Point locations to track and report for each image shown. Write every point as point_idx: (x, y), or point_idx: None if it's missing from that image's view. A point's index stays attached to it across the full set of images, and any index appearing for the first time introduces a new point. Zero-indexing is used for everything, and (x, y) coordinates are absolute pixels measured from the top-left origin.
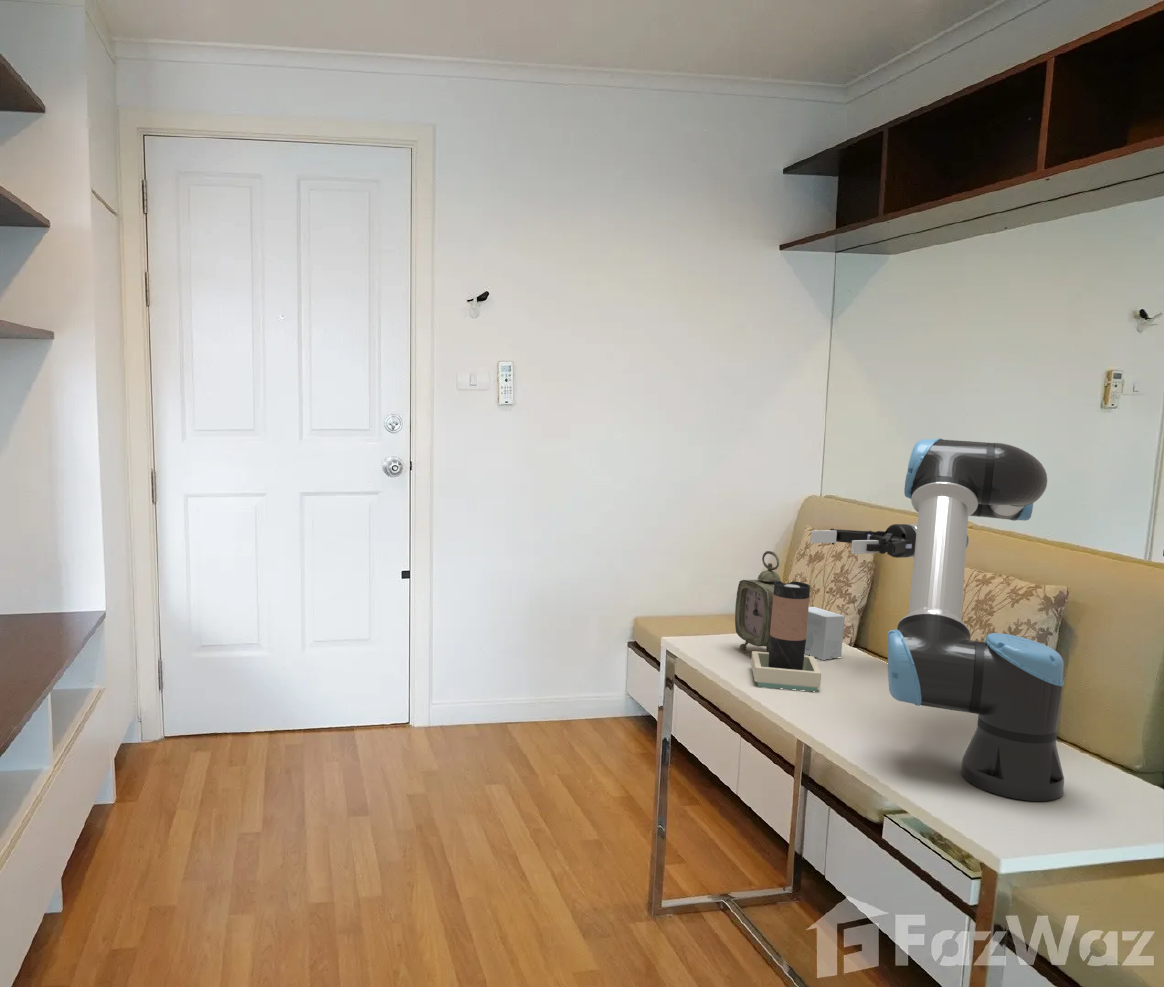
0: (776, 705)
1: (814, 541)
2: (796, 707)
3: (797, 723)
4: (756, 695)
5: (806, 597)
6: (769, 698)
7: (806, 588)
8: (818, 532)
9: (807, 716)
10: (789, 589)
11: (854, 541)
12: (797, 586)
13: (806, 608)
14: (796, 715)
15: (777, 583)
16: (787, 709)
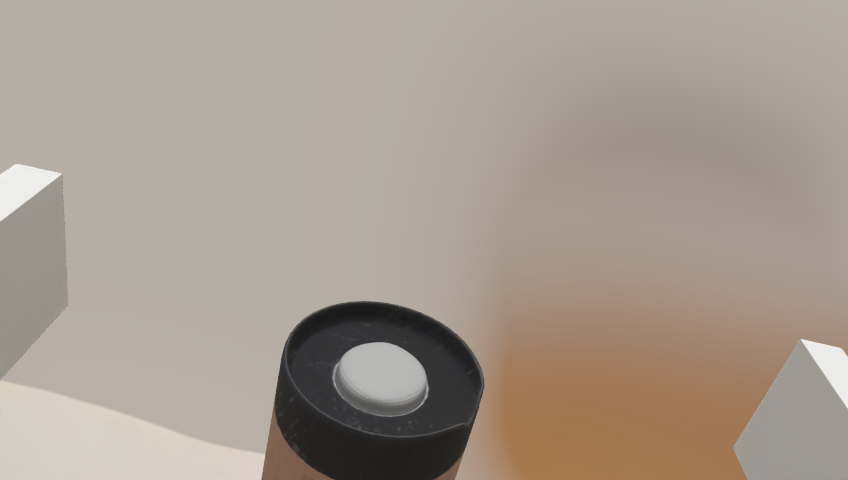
0: (139, 444)
1: (751, 453)
2: (82, 476)
3: (8, 388)
4: (237, 460)
5: (275, 407)
6: (194, 471)
7: (282, 363)
8: (824, 405)
9: (11, 445)
10: (326, 315)
11: (15, 167)
12: (353, 372)
13: (269, 461)
14: (44, 428)
15: (465, 361)
16: (94, 443)
